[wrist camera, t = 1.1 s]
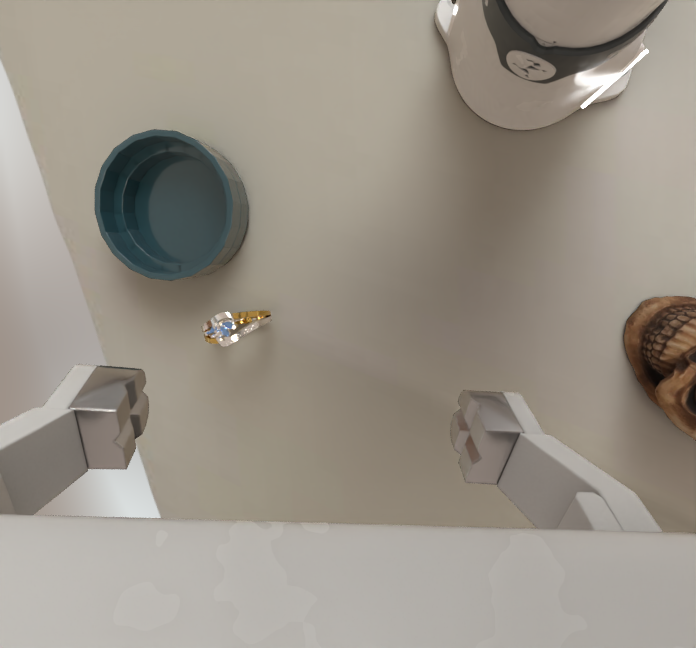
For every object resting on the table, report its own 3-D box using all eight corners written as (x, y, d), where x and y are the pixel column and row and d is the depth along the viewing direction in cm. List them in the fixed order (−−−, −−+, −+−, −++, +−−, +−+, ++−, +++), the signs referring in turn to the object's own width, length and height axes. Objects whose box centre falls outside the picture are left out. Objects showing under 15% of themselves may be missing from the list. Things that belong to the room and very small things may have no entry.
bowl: (148, 120, 48) (119, 105, 43) (269, 174, 48) (254, 166, 43) (108, 245, 51) (77, 244, 46) (222, 298, 50) (202, 303, 45)
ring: (223, 336, 51) (190, 352, 43) (217, 308, 51) (182, 319, 43) (282, 327, 50) (260, 342, 42) (277, 298, 50) (253, 308, 42)
